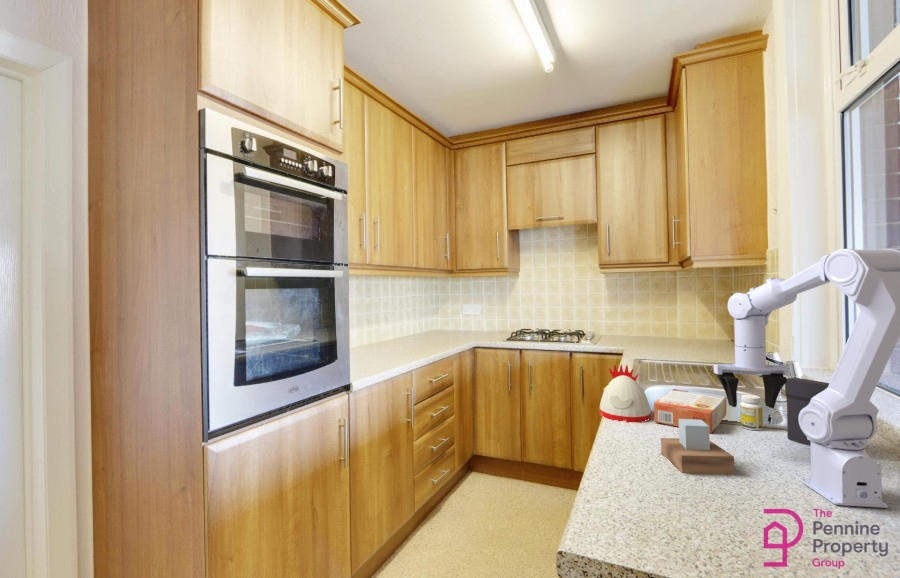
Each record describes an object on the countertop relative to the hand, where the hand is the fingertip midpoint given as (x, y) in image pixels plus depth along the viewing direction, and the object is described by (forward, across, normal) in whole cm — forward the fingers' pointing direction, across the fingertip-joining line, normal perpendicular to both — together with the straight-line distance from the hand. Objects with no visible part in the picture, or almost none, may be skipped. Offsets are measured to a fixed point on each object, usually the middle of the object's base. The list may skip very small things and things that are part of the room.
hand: (751, 406), depth 94 cm
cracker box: (+8, +9, -15) cm, 19 cm away
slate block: (+7, +15, +8) cm, 18 cm away
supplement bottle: (+11, -9, -18) cm, 23 cm away
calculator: (+11, -17, -6) cm, 21 cm away
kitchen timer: (+11, +21, -26) cm, 35 cm away
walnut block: (+11, +15, +8) cm, 20 cm away
